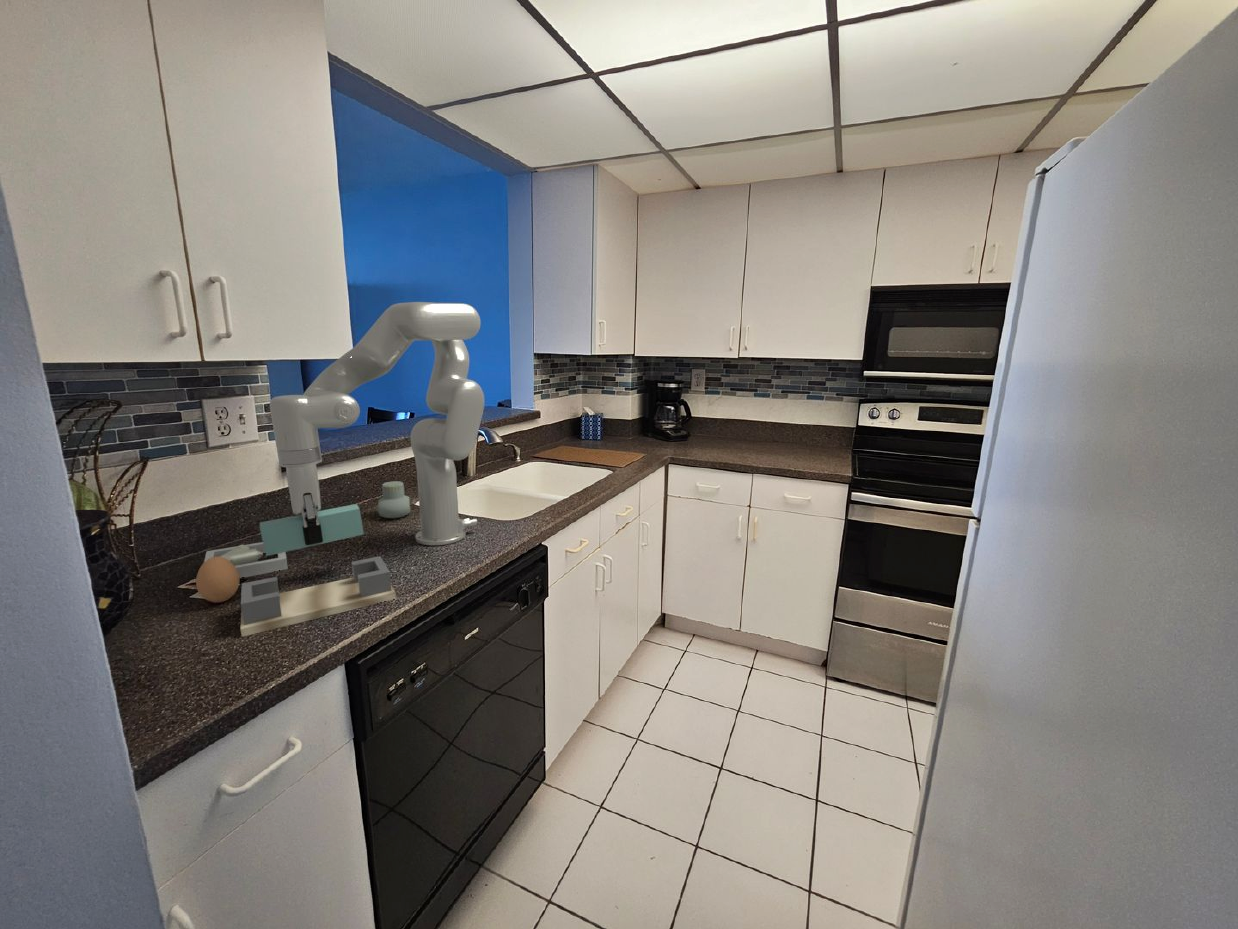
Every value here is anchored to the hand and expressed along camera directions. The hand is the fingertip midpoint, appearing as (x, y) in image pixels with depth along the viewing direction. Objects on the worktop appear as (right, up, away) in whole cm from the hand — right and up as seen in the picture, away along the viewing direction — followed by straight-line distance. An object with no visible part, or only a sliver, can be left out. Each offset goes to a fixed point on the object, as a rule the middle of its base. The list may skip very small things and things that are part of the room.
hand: (313, 539), depth 109 cm
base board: (+7, -11, -9) cm, 16 cm away
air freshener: (-2, 0, +45) cm, 45 cm away
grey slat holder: (+7, -10, -9) cm, 15 cm away
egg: (-13, -11, -8) cm, 19 cm away
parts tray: (-20, -7, +8) cm, 23 cm away
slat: (0, -1, 0) cm, 1 cm away
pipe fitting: (-22, -8, +8) cm, 24 cm away
